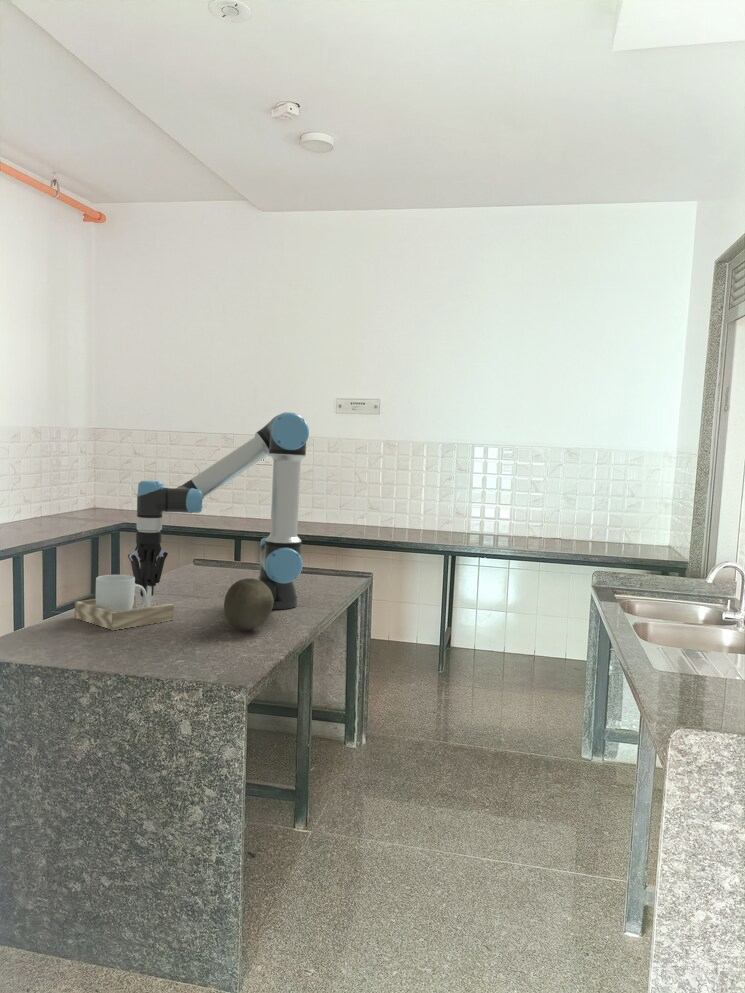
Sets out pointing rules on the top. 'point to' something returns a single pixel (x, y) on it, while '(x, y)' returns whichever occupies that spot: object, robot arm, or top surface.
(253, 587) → the cantaloupe
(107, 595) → the mug
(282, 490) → the robot arm
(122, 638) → the top surface
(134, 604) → the corral
